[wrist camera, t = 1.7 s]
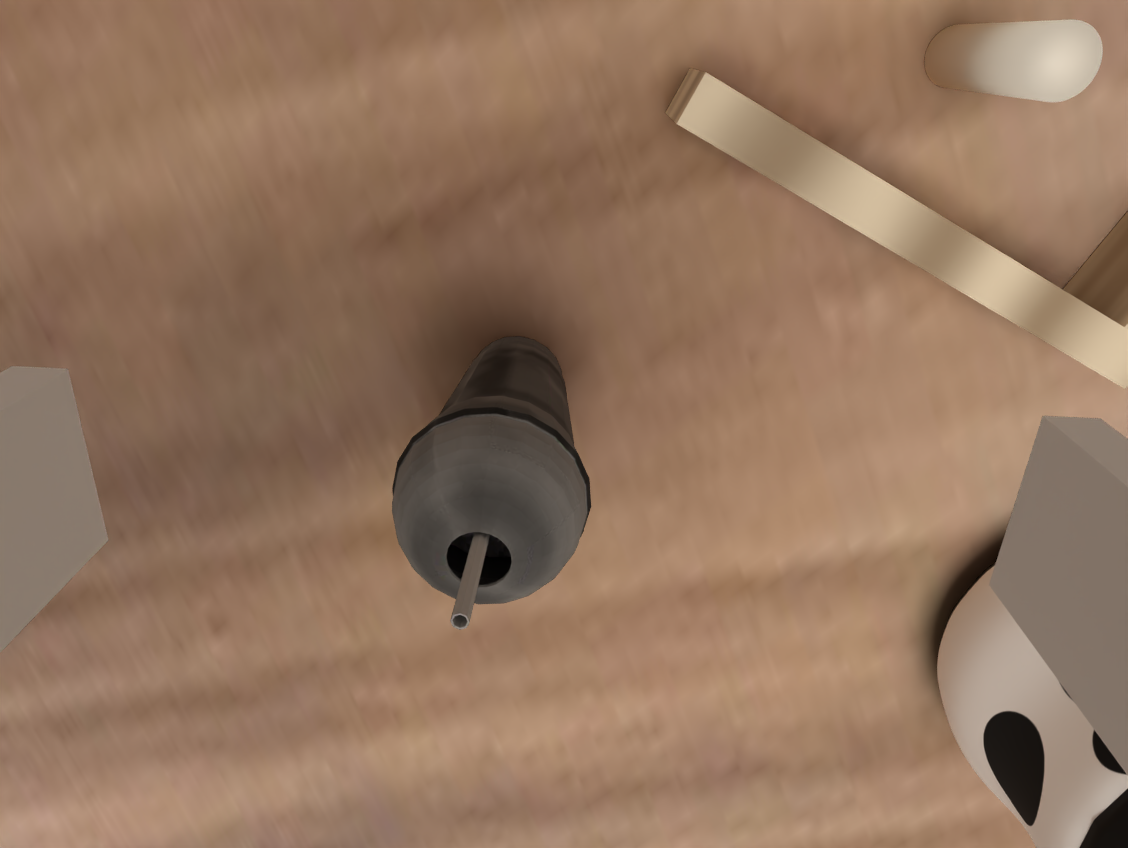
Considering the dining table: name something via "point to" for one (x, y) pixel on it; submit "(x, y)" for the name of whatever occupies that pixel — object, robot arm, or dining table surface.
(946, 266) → the bumper
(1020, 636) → the milk container
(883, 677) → the dining table surface
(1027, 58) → the pin
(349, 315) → the dining table surface
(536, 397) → the beverage cup
